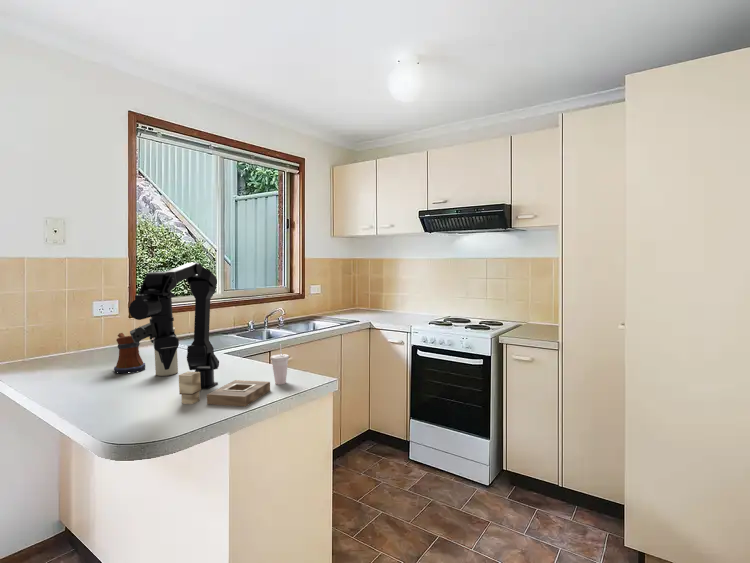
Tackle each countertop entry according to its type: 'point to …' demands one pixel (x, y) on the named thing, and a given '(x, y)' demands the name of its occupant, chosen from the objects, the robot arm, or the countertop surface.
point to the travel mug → (160, 367)
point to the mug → (128, 355)
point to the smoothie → (280, 367)
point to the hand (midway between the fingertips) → (165, 366)
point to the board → (238, 393)
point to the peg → (189, 387)
